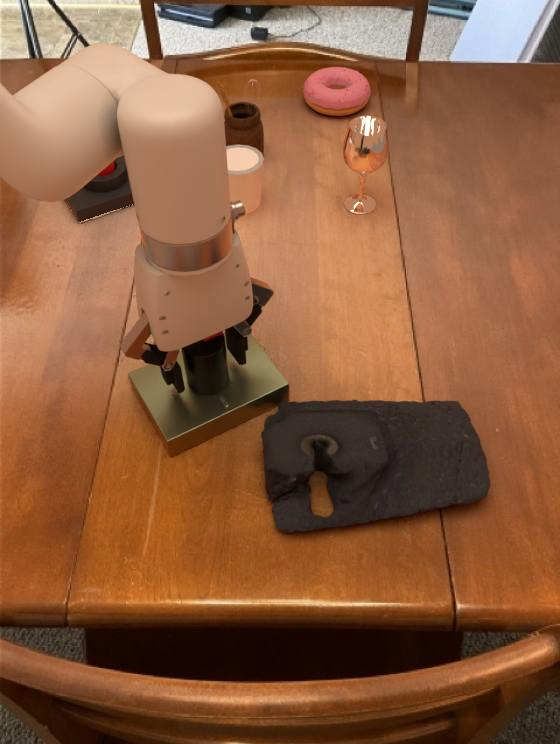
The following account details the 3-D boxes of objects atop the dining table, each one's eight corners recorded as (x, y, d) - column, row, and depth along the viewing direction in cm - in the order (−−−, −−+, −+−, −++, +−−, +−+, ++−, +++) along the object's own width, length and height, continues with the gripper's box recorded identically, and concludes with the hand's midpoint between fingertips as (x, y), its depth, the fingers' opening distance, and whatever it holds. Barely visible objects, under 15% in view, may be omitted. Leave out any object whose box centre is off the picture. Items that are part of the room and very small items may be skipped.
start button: (94, 180, 92) (91, 169, 91) (85, 166, 94) (82, 155, 93) (119, 172, 93) (117, 161, 92) (109, 159, 95) (107, 148, 94)
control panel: (171, 457, 69) (166, 440, 66) (132, 390, 74) (127, 372, 72) (289, 400, 73) (289, 382, 71) (244, 341, 79) (243, 322, 76)
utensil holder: (271, 156, 102) (270, 79, 92) (236, 170, 100) (231, 93, 90) (250, 138, 105) (247, 61, 96) (215, 151, 103) (208, 74, 93)
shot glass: (226, 222, 92) (222, 179, 87) (208, 194, 96) (204, 151, 91) (272, 209, 94) (272, 165, 88) (253, 182, 98) (251, 139, 92)
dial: (198, 401, 69) (191, 361, 64) (179, 372, 72) (172, 332, 67) (236, 383, 71) (232, 343, 66) (216, 356, 73) (212, 315, 68)
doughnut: (361, 125, 107) (364, 100, 104) (294, 114, 109) (295, 90, 106) (375, 90, 114) (378, 66, 110) (311, 81, 116) (312, 57, 112)
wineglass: (374, 189, 96) (384, 111, 87) (385, 214, 93) (396, 136, 84) (335, 194, 96) (340, 115, 87) (344, 219, 92) (350, 140, 83)
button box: (79, 224, 92) (72, 200, 89) (55, 186, 97) (47, 162, 94) (160, 196, 96) (156, 172, 93) (132, 161, 101) (128, 136, 98)
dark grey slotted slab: (498, 530, 64) (511, 506, 60) (263, 538, 63) (262, 514, 59) (465, 399, 73) (474, 371, 69) (261, 405, 73) (259, 377, 69)
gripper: (256, 177, 61) (261, 315, 75) (71, 242, 56) (114, 378, 69) (299, 223, 57) (297, 360, 71) (105, 298, 51) (144, 431, 65)
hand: (206, 368), depth 70 cm, fingers open, 6 cm apart
